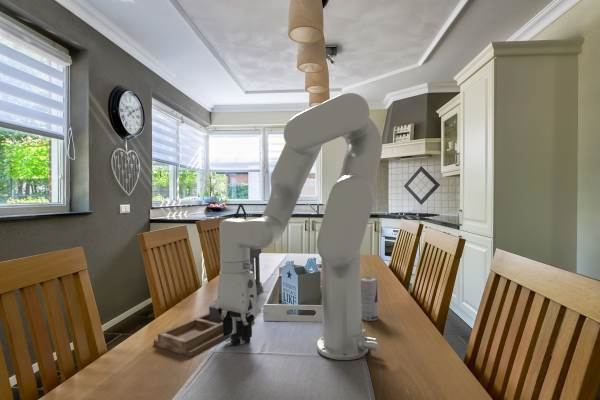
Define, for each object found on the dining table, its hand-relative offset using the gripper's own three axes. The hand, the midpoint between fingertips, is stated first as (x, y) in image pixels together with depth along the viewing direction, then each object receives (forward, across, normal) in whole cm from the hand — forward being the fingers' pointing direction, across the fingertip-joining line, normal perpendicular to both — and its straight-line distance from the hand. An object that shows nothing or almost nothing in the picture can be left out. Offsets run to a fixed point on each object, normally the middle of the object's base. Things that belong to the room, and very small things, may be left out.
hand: (237, 335), depth 86 cm
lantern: (+2, +30, -37) cm, 48 cm away
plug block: (+1, +12, -7) cm, 14 cm away
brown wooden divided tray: (+2, +12, -1) cm, 12 cm away
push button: (+2, 0, 0) cm, 2 cm away
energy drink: (+2, -24, -32) cm, 40 cm away
